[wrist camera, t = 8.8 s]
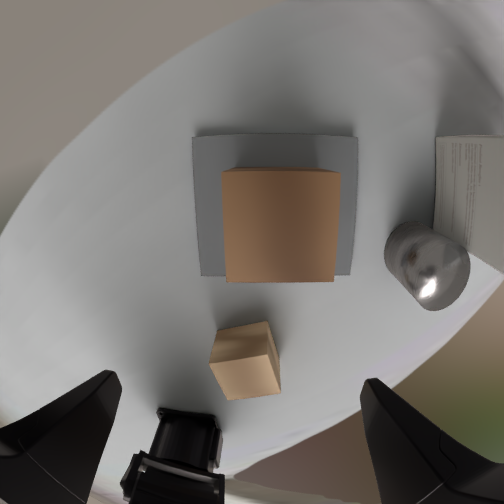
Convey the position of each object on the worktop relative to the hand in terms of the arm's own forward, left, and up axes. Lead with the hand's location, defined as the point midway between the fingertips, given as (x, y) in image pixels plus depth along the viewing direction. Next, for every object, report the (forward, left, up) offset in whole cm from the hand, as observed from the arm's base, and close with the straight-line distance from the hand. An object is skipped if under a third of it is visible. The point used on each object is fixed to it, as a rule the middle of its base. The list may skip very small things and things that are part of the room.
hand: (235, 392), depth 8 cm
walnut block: (+2, +4, -10) cm, 11 cm away
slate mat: (+2, +4, -11) cm, 12 cm away
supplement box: (+17, +6, -11) cm, 21 cm away
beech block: (0, -7, -11) cm, 13 cm away
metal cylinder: (+12, +1, -11) cm, 16 cm away
